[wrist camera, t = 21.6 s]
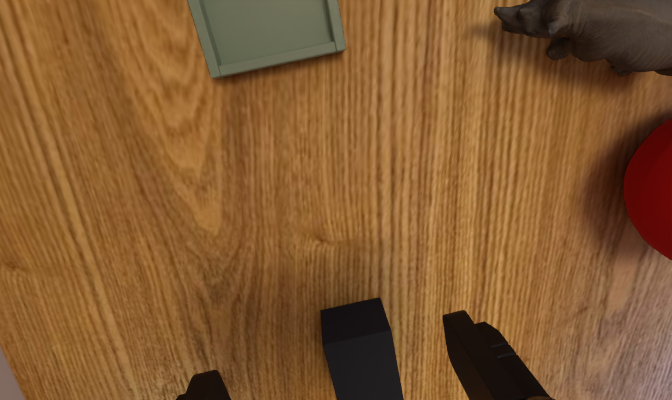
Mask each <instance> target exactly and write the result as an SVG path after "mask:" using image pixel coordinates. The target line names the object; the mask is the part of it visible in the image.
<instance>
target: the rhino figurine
mask: <svg viewBox="0 0 672 400" xmlns="http://www.w3.org/2000/svg"><path fill="white" fill-rule="evenodd" d="M494 14H495V15H497V17H498V18H499V19H500V20H501V21H502V28H503V30H504V31H507V32H510V33H516V34H524V35H527V36H530V37H535V38H552V37H555V36H558V35H566V36H568V37H572V39H568V38H555V39H554V40H553V41H552V42H551V46H550V47H549V49H548V50H547V55H548V57H550V58H551V59H552V60H559V59H561V58H564V57H566V56H567V55H568V54H570V53H571V54H572V55H573V56H574V57H576V58H578V59H580V60H582V61H585V62H591V61H597V60H602V59H606V60H607V61H608V62H609V63H610V64H612V65H613V66H612V69H613V71H614V72H617V74H618V76H626V75H628V74H630V73H632V72H647V71H655V72H657V73H659V74H661V75H667V76H672V0H530V1H529V2H528V3H525V4H522V5H517V6H513V7H495V9H494Z"/></svg>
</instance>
